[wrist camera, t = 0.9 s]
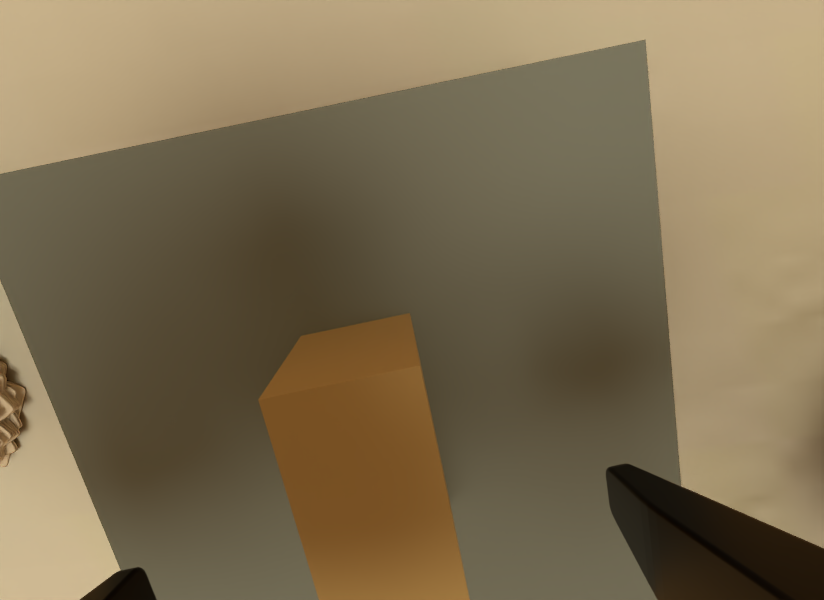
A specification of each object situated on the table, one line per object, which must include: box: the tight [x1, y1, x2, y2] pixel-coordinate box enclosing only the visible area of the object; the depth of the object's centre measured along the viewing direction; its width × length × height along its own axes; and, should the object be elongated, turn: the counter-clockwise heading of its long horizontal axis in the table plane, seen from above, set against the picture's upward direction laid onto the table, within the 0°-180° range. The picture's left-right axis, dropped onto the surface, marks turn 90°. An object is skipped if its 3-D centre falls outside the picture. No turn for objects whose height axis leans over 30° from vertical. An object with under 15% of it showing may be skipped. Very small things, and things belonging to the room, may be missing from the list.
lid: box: [0, 40, 681, 600], centre depth 11 cm, size 17×17×5 cm
